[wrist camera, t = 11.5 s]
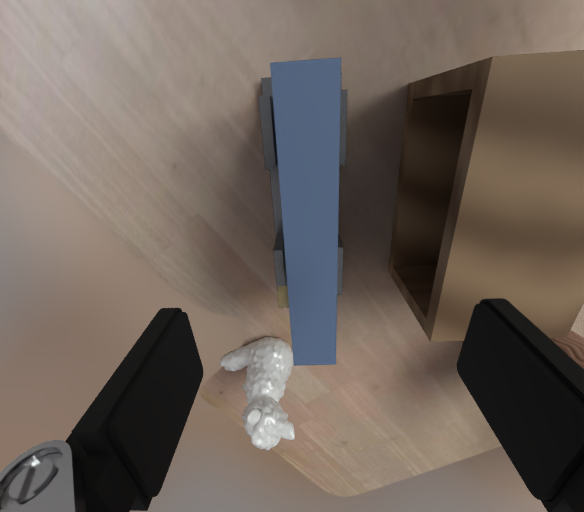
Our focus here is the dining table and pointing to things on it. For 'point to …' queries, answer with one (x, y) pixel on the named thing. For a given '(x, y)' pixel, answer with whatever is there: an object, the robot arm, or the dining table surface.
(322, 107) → the door
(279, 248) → the grey slotted rack
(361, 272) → the dining table surface
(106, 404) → the robot arm
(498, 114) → the cabinet
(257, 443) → the white creature statuette
